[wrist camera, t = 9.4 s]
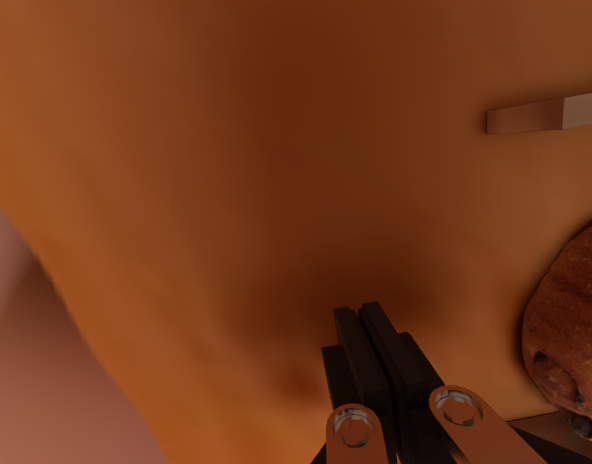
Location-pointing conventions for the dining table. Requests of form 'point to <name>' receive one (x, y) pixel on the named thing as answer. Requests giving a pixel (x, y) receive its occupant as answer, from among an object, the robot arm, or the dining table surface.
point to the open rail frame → (540, 119)
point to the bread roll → (564, 334)
